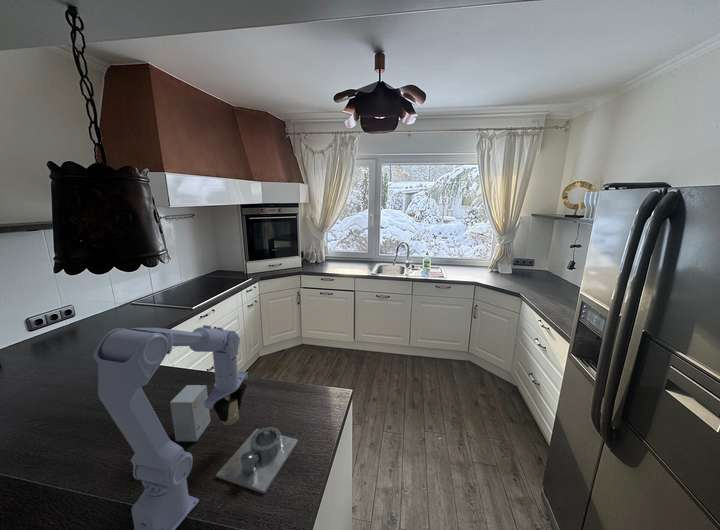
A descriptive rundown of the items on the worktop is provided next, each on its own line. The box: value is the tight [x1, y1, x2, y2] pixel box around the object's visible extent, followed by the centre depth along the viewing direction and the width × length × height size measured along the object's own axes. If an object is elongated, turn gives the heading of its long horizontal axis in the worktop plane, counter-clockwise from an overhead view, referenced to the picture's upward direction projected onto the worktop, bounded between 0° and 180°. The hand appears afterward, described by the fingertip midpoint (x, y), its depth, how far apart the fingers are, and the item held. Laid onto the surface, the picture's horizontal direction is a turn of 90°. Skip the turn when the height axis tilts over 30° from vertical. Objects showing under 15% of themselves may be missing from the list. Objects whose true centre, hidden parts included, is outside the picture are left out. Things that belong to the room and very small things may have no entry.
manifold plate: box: [215, 426, 299, 494], centre depth 77 cm, size 16×14×5 cm
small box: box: [169, 384, 212, 442], centre depth 85 cm, size 8×6×13 cm
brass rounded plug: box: [221, 395, 240, 426], centre depth 81 cm, size 4×4×6 cm
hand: (230, 414), depth 82 cm, fingers closed on brass rounded plug, 4 cm apart
